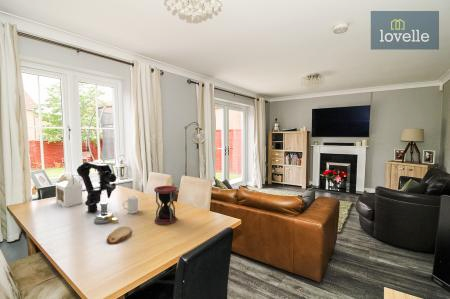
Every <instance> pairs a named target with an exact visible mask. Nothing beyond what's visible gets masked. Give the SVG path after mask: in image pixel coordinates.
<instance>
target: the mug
mask: <svg viewBox="0 0 450 299" xmlns="http://www.w3.org/2000/svg"><path fill="white" fill-rule="evenodd" d="M138 199H139V197H138V196H137V195H136V196H135V195H133V196H132V195H131V196H127V198H126V200H125V201H124V202H123V203H122V206H123V209H124V210H126V211H127V212H126V213H127V214H136V213H138V212H139V200H138ZM125 203H126V205H127V208H126V207H125Z"/></svg>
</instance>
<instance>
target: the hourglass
mask: <svg viewBox="0 0 450 299" xmlns="http://www.w3.org/2000/svg"><path fill="white" fill-rule="evenodd" d="M177 190H178V188H177V186H173V185H160V186H156V187H154V192H155V202H156V205H157V209H156V210H155V218H154V224H155V225H157V226H168V225H172V224H175V223H176V222H177V221H178V219H177V216H176V206H175V204H174V201H175V199H176V191H177ZM158 199H159V201H160V202H161V203H159V201H158ZM171 206H172V207H173V209H172V208H171ZM176 220H177V221H176Z"/></svg>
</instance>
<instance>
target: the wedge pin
mask: <svg viewBox="0 0 450 299" xmlns="http://www.w3.org/2000/svg"><path fill="white" fill-rule="evenodd" d="M108 205H109V202H101V203H100V202H99V206H100V208H101V209H100V214H101V213H104V212H105V213H108Z"/></svg>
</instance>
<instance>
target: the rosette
mask: <svg viewBox="0 0 450 299" xmlns="http://www.w3.org/2000/svg"><path fill="white" fill-rule="evenodd" d="M113 214H114V213H111V212H107V213H105V212H104V213H101V212H100V213H98V214H97V215H95V216H94V219H93V223H94V224H95V225H106V224H116V223H119V219H118V217H117V218H116V217H115V215H113Z"/></svg>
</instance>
